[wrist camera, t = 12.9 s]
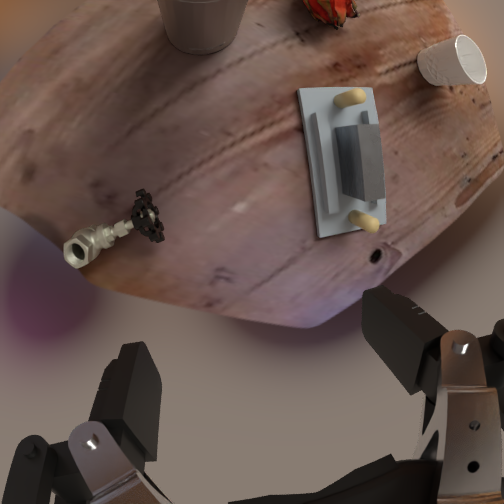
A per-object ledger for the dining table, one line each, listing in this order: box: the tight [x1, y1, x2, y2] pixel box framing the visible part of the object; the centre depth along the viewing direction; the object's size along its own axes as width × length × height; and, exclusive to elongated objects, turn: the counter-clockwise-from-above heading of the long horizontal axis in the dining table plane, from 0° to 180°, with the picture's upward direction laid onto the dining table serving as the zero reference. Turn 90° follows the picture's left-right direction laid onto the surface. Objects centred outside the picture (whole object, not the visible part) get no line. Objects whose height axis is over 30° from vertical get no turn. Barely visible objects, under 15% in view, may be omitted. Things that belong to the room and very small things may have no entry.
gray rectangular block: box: [335, 124, 385, 202], centre depth 33 cm, size 9×3×6 cm, turn 9°
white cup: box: [417, 35, 487, 86], centre depth 29 cm, size 8×8×10 cm
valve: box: [64, 189, 165, 269], centre depth 32 cm, size 7×7×12 cm
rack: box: [297, 87, 386, 238], centre depth 34 cm, size 20×11×6 cm, turn 10°
